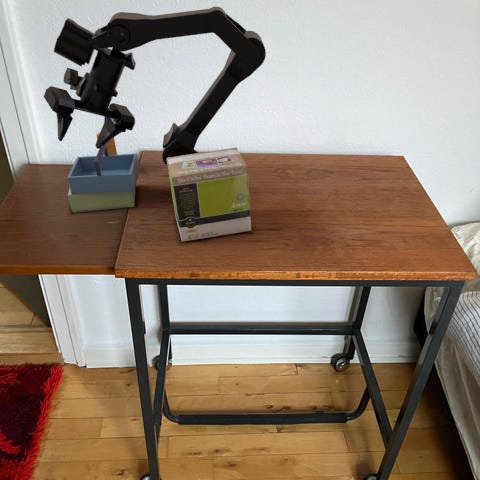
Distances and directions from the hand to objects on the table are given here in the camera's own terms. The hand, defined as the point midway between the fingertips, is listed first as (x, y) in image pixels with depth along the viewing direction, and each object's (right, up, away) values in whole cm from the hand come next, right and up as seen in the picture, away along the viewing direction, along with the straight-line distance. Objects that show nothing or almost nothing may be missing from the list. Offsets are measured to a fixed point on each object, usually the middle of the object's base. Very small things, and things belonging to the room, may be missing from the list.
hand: (78, 143), depth 117 cm
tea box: (+29, -19, -3) cm, 35 cm away
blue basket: (+5, -7, +6) cm, 10 cm away
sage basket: (+3, -10, +9) cm, 14 cm away
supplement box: (+2, 0, +21) cm, 21 cm away
